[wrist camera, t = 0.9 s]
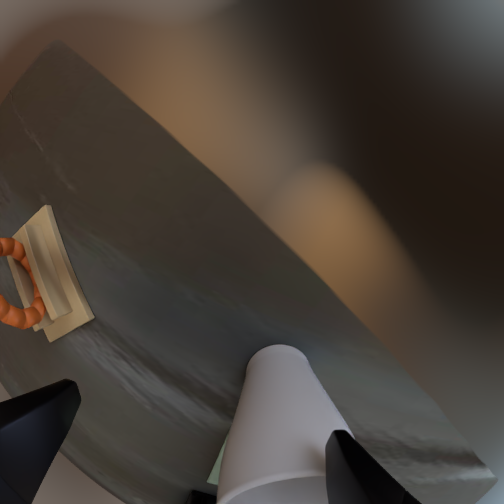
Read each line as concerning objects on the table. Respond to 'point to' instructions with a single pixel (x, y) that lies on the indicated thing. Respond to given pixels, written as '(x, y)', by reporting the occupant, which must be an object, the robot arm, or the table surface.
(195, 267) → the table surface
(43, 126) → the table surface
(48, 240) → the stand
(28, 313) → the ring
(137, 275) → the table surface
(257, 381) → the drinking glass
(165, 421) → the table surface
